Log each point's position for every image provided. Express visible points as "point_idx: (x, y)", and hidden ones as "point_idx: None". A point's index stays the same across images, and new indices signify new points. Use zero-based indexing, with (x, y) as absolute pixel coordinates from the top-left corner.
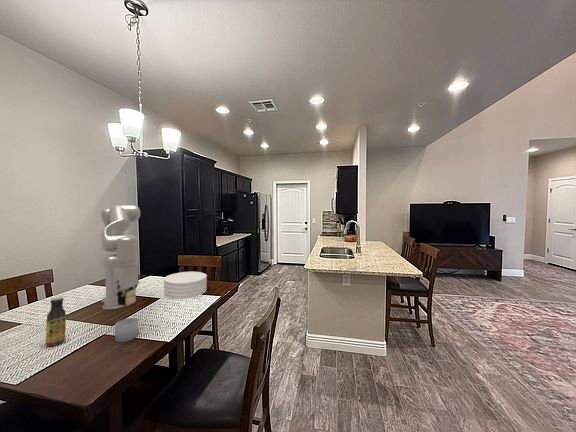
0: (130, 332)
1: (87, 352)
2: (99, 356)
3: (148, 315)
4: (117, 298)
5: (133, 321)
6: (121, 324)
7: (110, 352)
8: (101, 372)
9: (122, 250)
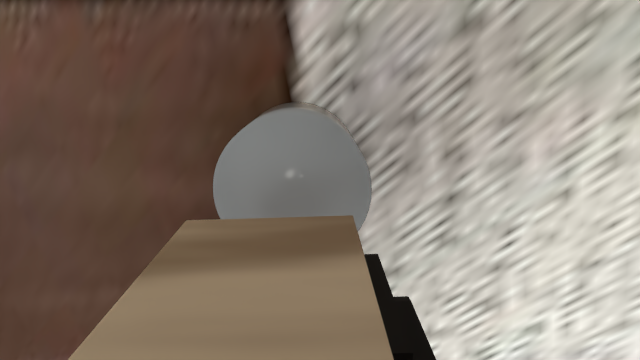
0: None
1: (99, 81)
2: (99, 179)
3: (597, 78)
4: (136, 279)
5: None
6: (250, 183)
7: (145, 203)
8: (25, 287)
9: None
